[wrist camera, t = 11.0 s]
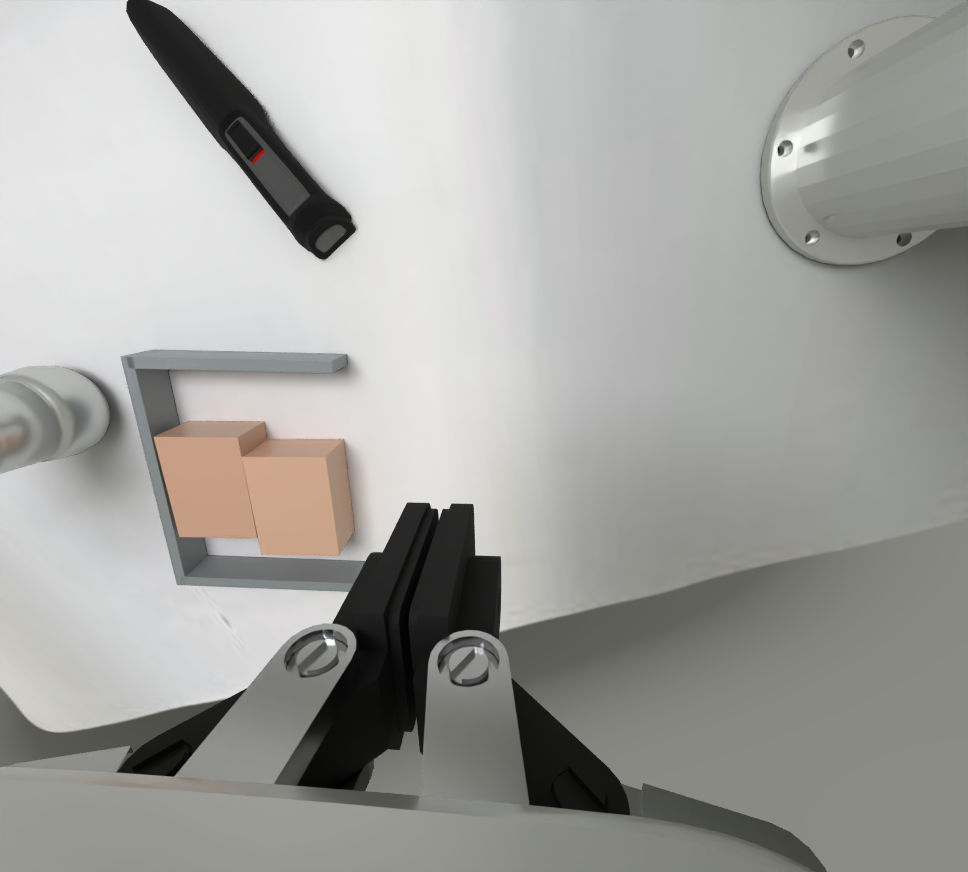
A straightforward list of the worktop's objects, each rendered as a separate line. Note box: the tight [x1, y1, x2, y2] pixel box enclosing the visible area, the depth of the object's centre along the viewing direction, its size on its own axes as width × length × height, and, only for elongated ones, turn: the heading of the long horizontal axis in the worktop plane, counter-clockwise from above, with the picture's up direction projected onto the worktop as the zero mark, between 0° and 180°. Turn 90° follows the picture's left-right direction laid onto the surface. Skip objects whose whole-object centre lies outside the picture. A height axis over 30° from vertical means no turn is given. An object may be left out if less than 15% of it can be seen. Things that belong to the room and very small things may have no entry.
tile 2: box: [242, 439, 355, 556], centre depth 35 cm, size 6×8×4 cm
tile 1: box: [154, 421, 267, 538], centre depth 35 cm, size 6×8×4 cm
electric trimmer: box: [126, 0, 355, 259], centre depth 28 cm, size 4×16×3 cm, turn 38°
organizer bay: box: [121, 350, 364, 592], centre depth 35 cm, size 14×18×3 cm
